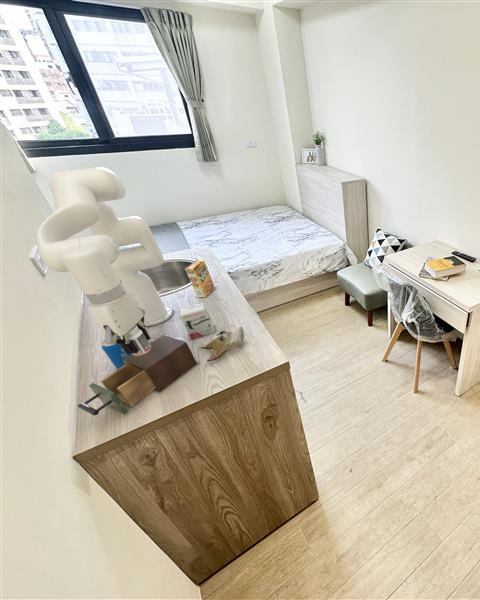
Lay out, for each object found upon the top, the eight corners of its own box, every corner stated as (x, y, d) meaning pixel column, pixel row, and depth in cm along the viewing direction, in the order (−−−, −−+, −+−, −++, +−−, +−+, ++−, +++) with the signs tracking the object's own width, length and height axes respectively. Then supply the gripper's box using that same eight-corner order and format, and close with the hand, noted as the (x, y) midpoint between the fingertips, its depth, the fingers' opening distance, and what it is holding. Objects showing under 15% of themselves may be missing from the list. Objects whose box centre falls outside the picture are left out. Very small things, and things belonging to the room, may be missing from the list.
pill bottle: (147, 343, 95) (134, 321, 90) (154, 349, 93) (141, 327, 88) (129, 351, 92) (114, 329, 87) (135, 358, 90) (121, 335, 85)
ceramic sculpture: (245, 329, 113) (200, 350, 105) (253, 347, 118) (210, 368, 110) (236, 316, 120) (193, 335, 112) (244, 334, 125) (203, 352, 117)
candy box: (205, 297, 148) (193, 268, 139) (196, 297, 148) (184, 268, 140) (215, 287, 155) (204, 259, 147) (207, 287, 155) (195, 259, 147)
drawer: (106, 428, 89) (90, 409, 85) (85, 416, 92) (68, 398, 88) (164, 384, 103) (153, 365, 98) (144, 375, 106) (133, 357, 101)
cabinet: (160, 392, 101) (145, 369, 95) (137, 382, 105) (122, 359, 99) (197, 363, 111) (186, 342, 106) (175, 355, 115) (163, 334, 109)
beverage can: (124, 375, 107) (105, 349, 100) (114, 369, 110) (96, 342, 103) (144, 363, 112) (128, 337, 105) (135, 357, 114) (118, 331, 108)
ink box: (191, 340, 122) (179, 315, 116) (190, 333, 126) (178, 309, 119) (215, 332, 126) (205, 308, 120) (213, 326, 130) (203, 302, 123)
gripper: (114, 277, 88) (143, 328, 98) (63, 312, 74) (104, 368, 84) (141, 276, 88) (168, 327, 99) (96, 311, 74) (133, 366, 84)
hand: (138, 345), depth 91 cm, fingers closed on pill bottle, 4 cm apart
